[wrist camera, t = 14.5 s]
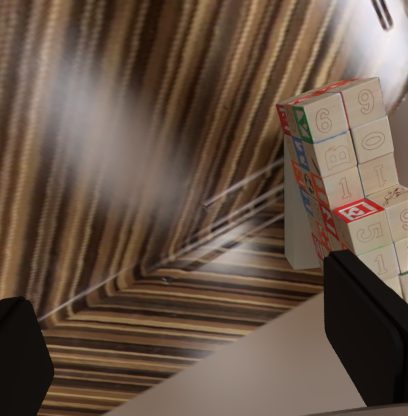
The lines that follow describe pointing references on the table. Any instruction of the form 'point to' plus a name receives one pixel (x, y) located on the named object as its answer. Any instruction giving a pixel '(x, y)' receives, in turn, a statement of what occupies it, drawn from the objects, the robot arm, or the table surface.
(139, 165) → the table surface
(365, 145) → the stack of blocks
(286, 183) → the base block
